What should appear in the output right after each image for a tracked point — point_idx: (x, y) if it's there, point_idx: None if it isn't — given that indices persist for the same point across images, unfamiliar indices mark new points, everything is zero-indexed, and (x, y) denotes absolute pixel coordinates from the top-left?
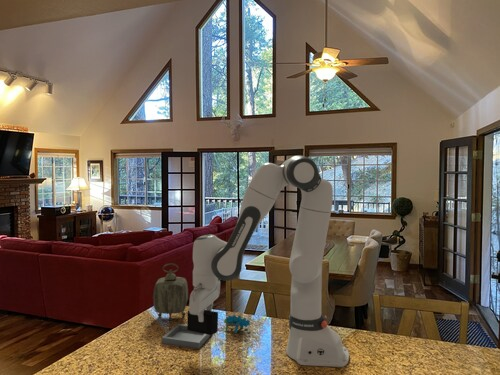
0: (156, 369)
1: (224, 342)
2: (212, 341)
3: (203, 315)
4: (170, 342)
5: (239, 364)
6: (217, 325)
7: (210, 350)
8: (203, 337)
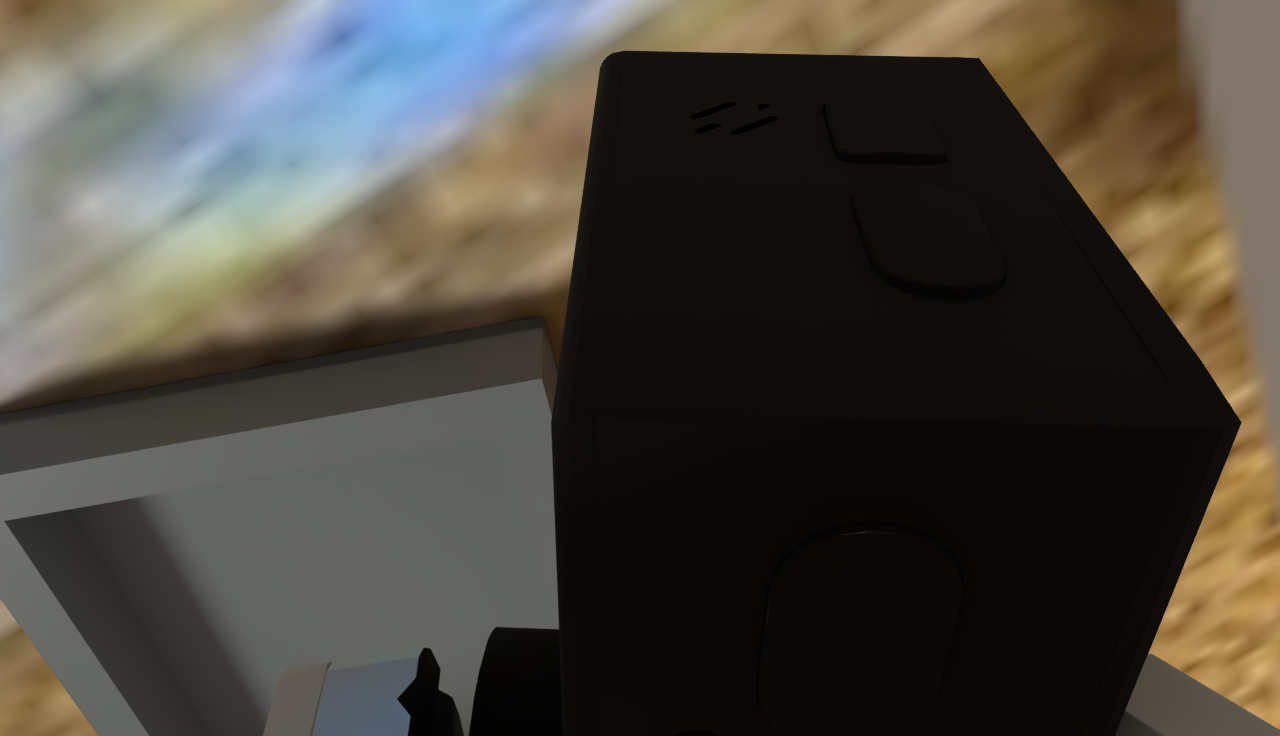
0: (1246, 454)
1: (53, 77)
2: (180, 284)
3: (1157, 712)
4: None
5: None
6: (623, 126)
7: (471, 138)
8: (329, 421)
